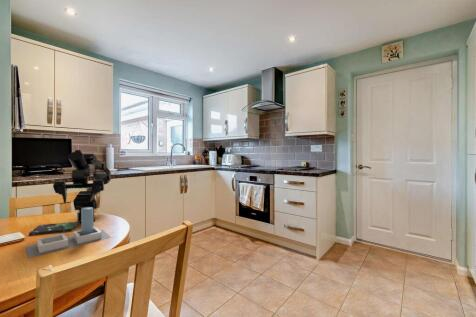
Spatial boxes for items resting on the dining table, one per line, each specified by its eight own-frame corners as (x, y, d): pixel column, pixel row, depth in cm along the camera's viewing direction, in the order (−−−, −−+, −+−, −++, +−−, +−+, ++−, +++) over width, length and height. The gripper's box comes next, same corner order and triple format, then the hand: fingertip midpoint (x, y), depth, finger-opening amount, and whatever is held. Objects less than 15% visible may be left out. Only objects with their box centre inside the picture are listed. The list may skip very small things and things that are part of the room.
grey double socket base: (102, 231, 100) (102, 224, 100) (111, 239, 92) (111, 231, 92) (25, 249, 82) (25, 239, 82) (27, 261, 74) (27, 250, 74)
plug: (89, 235, 94) (89, 206, 93) (95, 237, 92) (95, 208, 91) (79, 238, 90) (79, 209, 89) (85, 240, 88) (85, 210, 88)
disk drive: (28, 239, 92) (72, 234, 98) (28, 233, 92) (72, 228, 98) (38, 231, 102) (78, 226, 108) (38, 224, 101) (78, 220, 107)
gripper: (53, 163, 98) (46, 193, 89) (103, 162, 107) (101, 190, 97) (58, 178, 106) (52, 207, 96) (104, 177, 114) (102, 203, 105)
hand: (77, 201), depth 99 cm, fingers open, 9 cm apart
